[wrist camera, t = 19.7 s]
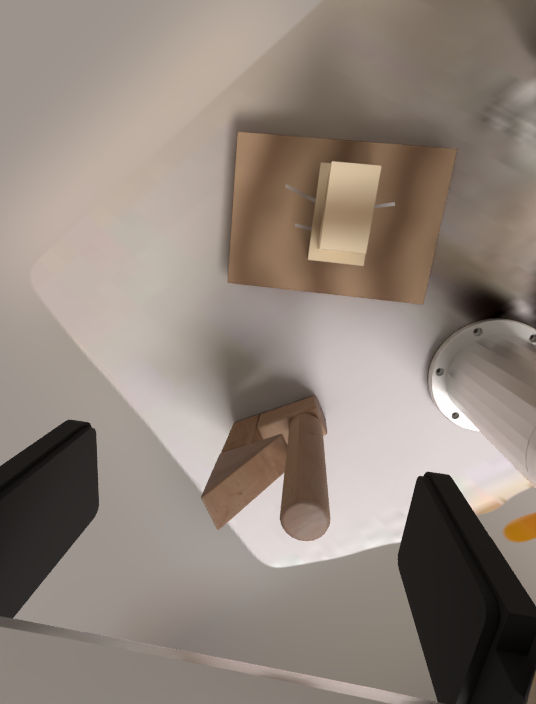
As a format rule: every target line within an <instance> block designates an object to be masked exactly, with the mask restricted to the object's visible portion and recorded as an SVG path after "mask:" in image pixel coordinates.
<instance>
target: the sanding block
mask: <svg viewBox="0 0 536 704" xmlns="http://www.w3.org/2000/svg"><path fill="white" fill-rule="evenodd" d="M380 172H381V166H378V165H367V164H357V163H346V162H335V161H332V163H322V162H321V165H320V171H319V179H318V186H317V194H316V201H315V209H314V216H313V224H312V231H311V239H310V246H309V254H308V260H314V261H323V262H332V263H341V264H350V265H359V266H364V260H365V255H366V251H367V245H368V239H369V234H370V228H371V222H372V217H373V211H374V206H375V200H376V194H377V189H378V183H379V177H380Z"/></svg>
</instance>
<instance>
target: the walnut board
mask: <svg viewBox="0 0 536 704" xmlns="http://www.w3.org/2000/svg"><path fill="white" fill-rule="evenodd" d="M456 153H457V149H451V148H439V147H426V146H413V145H400V144H387V143H375V142H362V141H349V140H336V139H323V138H311V137H298V136H285V135H272V134H259V133H247V132H238V136H237V151H236V166H235V181H234V196H233V211H232V226H231V241H230V256H229V271H228V283H235V284H244V285H253V286H262V287H271V288H280V289H289V290H298V291H307V292H316V293H325V294H334V295H343V296H352V297H361V298H370V299H379V300H388V301H397V302H406V303H415V304H423V303H424V298H425V294H426V289H427V285H428V280H429V276H430V271H431V267H432V262H433V258H434V253H435V249H436V244H437V239H438V235H439V230H440V226H441V221H442V217H443V212H444V208H445V203H446V199H447V194H448V190H449V185H450V181H451V176H452V172H453V167H454V162H455V158H456ZM332 161H335V162H346V163H357V164H367V165H378V166H381V172H380V177H379V183H378V189H377V194H376V200H375V206H374V211H373V217H372V222H371V228H370V234H369V239H368V245H367V251H366V255H365V260H364V266H359V265H350V264H341V263H332V262H323V261H314V260H308V254H309V246H310V239H311V231H312V224H313V216H314V209H315V201H316V194H317V186H318V179H319V171H320V165H321V162H322V163H332Z"/></svg>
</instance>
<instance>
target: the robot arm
mask: <svg viewBox="0 0 536 704" xmlns="http://www.w3.org/2000/svg"><path fill="white" fill-rule="evenodd" d="M475 329H476V331H475V332H474V330H475ZM530 336H531V337H530ZM529 337H530V338H529ZM438 368H439V371H436V370H437V369H438ZM428 384H429V391H430V394H431V397H432V400H433V402H434V403H435V405H436V406H437V408H438V409H439V410H440V411H441V413H442V414H443V415H444V416H445V417H446V418H447V419H449V420H450V421H451V422H453V423H455V424H457V425H458V426H460V427H463V428H466V429H469V430H473V431H480V432H481V433H482V434H483V435H484V436H485V437H486V438H487V439H488V440H489V441H490V442H491V443H492V444H493V445H494V446H495V447H496V448H497V449H498V451H499V452H500V453H501V454H502V455H503V456H504V457H505V458H506V459H507V460H508V461H509V462H510V463H511V464H512V465H513V466H514V467H515V468H516V469H517V470H518V471H519V472H520V473H521V474H522V475H523V476H524V477H525V478H526V479H527V480H528V481H529V482H530V483H531V484H532V485H533V486H534V487H535V488H536V329H534V328H533V327H531V326H528V325H526V324H524V323H521V322H518V321H514V320H509V319H500V318H497V319H486V320H482V321H477V322H474V323H472V324H469V325H467V326H465V327H463V328H461V329H459V330H458V331H456V332H455V333H453V334H452V335H451V336H450V337H449V338H448V339H447V340H445V341H444V342H443V344H442V345H441V346H440V348H439V349H438V350H437V352H436V354H435V356H434V358H433V360H432V362H431V365H430V369H429V376H428ZM452 413H453V414H452ZM98 507H99V494H98V471H97V444H96V431H95V429H94V428H92V427H91V425H90V423H88V422H83V421H76V420H67V421H65V422H64V423H62V424H61V425H59V426H58V427H56V428H55V429H53V430H52V431H51V432H49V433H48V434H46V435H45V436H43V437H42V438H40V439H39V440H37V441H36V442H35V443H33V444H32V445H30V446H29V447H27V448H26V449H25V450H23V451H22V452H20V453H19V454H17V455H16V456H14V457H13V458H11V459H10V460H9V461H7V462H6V463H4V464H3V465H1V466H0V704H536V606H535V604H534V603H533V601H532V600H531V598H530V597H529V595H528V594H527V592H526V591H525V589H524V588H523V586H522V585H521V583H520V581H519V580H518V579H517V577H516V575H515V574H514V572H513V571H512V569H511V568H510V566H509V564H508V563H507V561H506V560H505V558H504V557H503V555H502V554H501V552H500V551H499V549H498V548H497V546H496V545H495V543H494V542H493V540H492V539H491V537H490V536H489V535H488V533H487V531H486V530H485V529H484V527H483V525H482V524H481V522H480V521H479V519H478V518H477V516H476V515H475V513H474V511H473V510H472V508H471V507H470V505H469V504H468V502H467V501H466V499H465V498H464V496H463V494H462V493H461V491H460V490H459V488H458V487H457V485H456V484H455V482H454V481H453V479H452V478H451V476H450V475H446V474H440V473H433V472H426V473H425V474H424V477H423V476H419V477H418V478H417V481H416V485H415V489H414V493H413V497H412V501H411V505H410V509H409V513H408V517H407V521H406V525H405V529H404V533H403V537H402V541H401V545H400V549H399V553H398V566H399V571H400V574H401V578H402V581H403V584H404V588H405V591H406V595H407V598H408V602H409V605H410V609H411V612H412V615H413V619H414V622H415V625H416V629H417V632H418V636H419V639H420V643H421V646H422V650H423V653H424V656H425V660H426V663H427V667H428V670H429V673H430V677H431V680H432V684H433V687H434V691H435V694H436V697H437V701H438V702H434V701H430V700H425V699H420V698H415V697H412V696H407V695H402V694H398V693H393V692H389V691H384V690H379V689H375V688H370V687H364V686H360V685H354V684H349V683H345V682H340V681H335V680H330V679H325V678H319V677H315V676H310V675H305V674H300V673H294V672H289V671H284V670H279V669H274V668H270V667H265V666H260V665H255V664H249V663H244V662H239V661H234V660H229V659H224V658H218V657H213V656H208V655H203V654H197V653H193V652H187V651H182V650H177V649H172V648H167V647H161V646H156V645H151V644H146V643H141V642H135V641H129V640H125V639H120V638H114V637H109V636H104V635H99V634H93V633H88V632H82V631H77V630H72V629H66V628H61V627H55V626H50V625H45V624H39V623H33V622H28V621H23V620H18V619H13V617H14V616H15V615H16V614H17V613H18V611H19V610H20V609H21V608H22V606H23V605H24V604H25V603H26V601H27V600H28V599H29V598H30V596H31V595H32V594H33V593H34V591H35V590H36V589H37V588H38V587H39V585H40V584H41V583H42V582H43V580H44V579H45V578H46V577H47V575H48V574H49V573H50V572H51V570H52V569H53V568H54V567H55V566H56V564H57V563H58V562H59V561H60V559H61V558H62V557H63V556H64V554H65V553H66V552H67V551H68V549H69V548H70V547H71V546H72V544H73V543H74V542H75V541H76V540H77V538H78V537H79V536H80V534H81V533H82V532H83V531H84V530H85V528H86V527H87V526H88V525H89V523H90V522H91V521H92V520H93V519H94V517H95V515H96V513H97V511H98Z"/></svg>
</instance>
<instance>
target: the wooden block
mask: <svg viewBox="0 0 536 704" xmlns="http://www.w3.org/2000/svg"><path fill="white" fill-rule="evenodd" d="M326 434H327V427H326V419H325V416H324V414H323V411H322V409H321V407H320V404H319V402H318V399H317V397H316V396H311V397H309V398H306V399H303V400H300V401H297V402H294V403H291V404H288V405H285V406H282V407H279V408H276V409H273V410H270V411H267V412H264V413H262V414H260V415H255V416H252V417H249V418H246V419H243V420H240V421H238V422H235V423H234V424H233V426H232V429H231V431H230V433H229V436H228V438H227V440H226V443H225V445H224V447H223V450H222V452H221V454H220V455H219V457H218V459H217V462H216V464H215V466H214V469H213V471H212V473H211V476H210V478H209V480H208V482H207V485H206V487H205V489H204V492H203V494H202V496H201V498H202V500H203V502H204V504H205V506H206V508H207V510H208V512H209V514H210V516H211V518H212V520H213V522H214V524H215V526H216V528H217V529H218V530H219V529H220V528H221V527H223V526H224V525H225V524H226V523H227V522H228V521H229V520H231V519H232V518H233V517H234V516H235V515H236V514H237V513H239V512H240V511H241V510H242V509H243V508H244V507H245V506H247V505H248V504H249V503H250V502H251V501H252V500H253V499H255V498H256V497H257V496H258V495H259V494H260V493H261V492H262V491H264V490H265V489H266V488H267V487H268V486H269V485H270V484H272V483H273V482H274V481H275V480H276V479H277V478H278V477H280V476H281V475H282V474H283V473H284V472H285V473H284V483H283V493H282V502H281V512H280V521H281V525H282V527H283V528H284V530H285V531H286V533H287V534H289V535H290V536H291V537H293V538H295V539H298V540H302V541H311V540H315V539H318V538H320V537H321V536H322V535H323V534H325V532H326V530H327V529H328V527H329V524H330V510H329V499H328V488H327V476H326V465H325V454H324V442H323V435H326Z"/></svg>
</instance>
